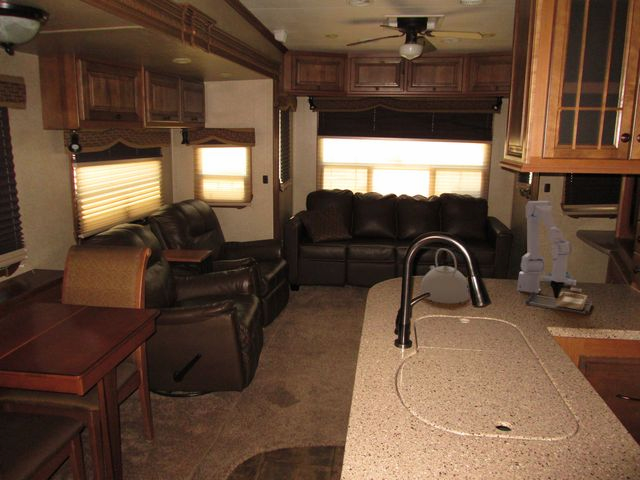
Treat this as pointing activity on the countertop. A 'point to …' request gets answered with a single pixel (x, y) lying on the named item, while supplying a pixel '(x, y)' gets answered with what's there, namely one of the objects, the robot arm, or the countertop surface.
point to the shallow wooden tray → (571, 300)
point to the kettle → (445, 283)
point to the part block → (575, 290)
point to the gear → (566, 276)
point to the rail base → (550, 303)
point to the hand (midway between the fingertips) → (556, 297)
